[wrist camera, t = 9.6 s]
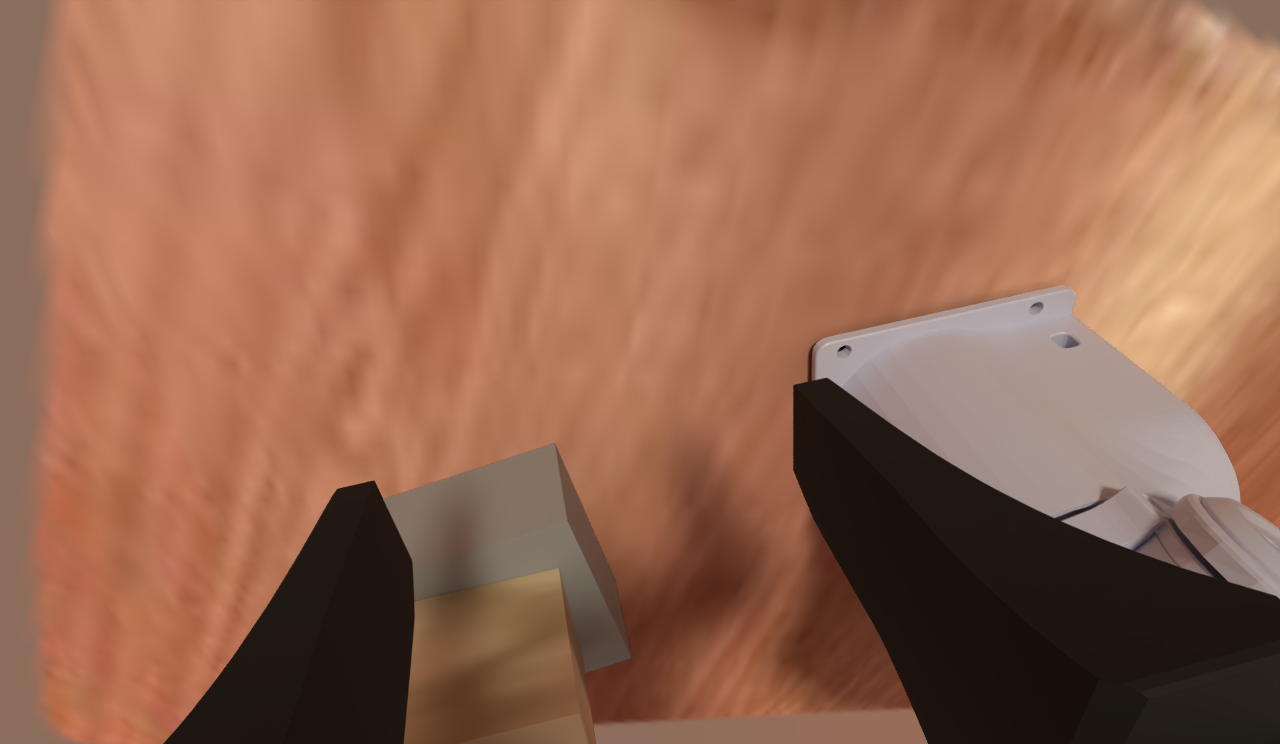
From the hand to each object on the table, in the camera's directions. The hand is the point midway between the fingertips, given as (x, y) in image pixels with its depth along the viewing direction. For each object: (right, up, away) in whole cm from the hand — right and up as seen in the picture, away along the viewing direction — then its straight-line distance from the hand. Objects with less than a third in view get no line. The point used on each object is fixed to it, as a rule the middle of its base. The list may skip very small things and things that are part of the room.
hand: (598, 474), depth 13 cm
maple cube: (-4, -7, +13) cm, 15 cm away
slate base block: (-5, -5, +16) cm, 17 cm away
